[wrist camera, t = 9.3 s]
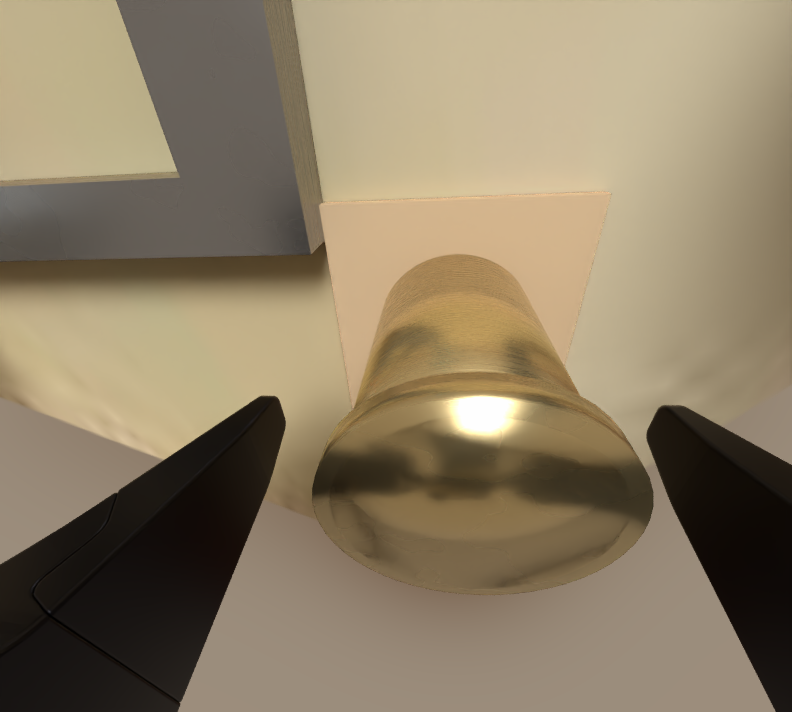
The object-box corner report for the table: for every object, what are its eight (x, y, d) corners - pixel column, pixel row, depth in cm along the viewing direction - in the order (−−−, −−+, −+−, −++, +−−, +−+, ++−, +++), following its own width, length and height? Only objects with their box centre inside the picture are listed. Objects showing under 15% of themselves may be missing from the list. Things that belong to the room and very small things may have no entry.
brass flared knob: (555, 241, 10) (725, 404, 4) (525, 391, 13) (597, 605, 7) (364, 246, 10) (277, 394, 5) (379, 388, 14) (337, 583, 8)
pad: (605, 191, 9) (611, 193, 9) (548, 408, 14) (551, 415, 14) (322, 202, 10) (318, 205, 10) (354, 403, 15) (352, 410, 14)
